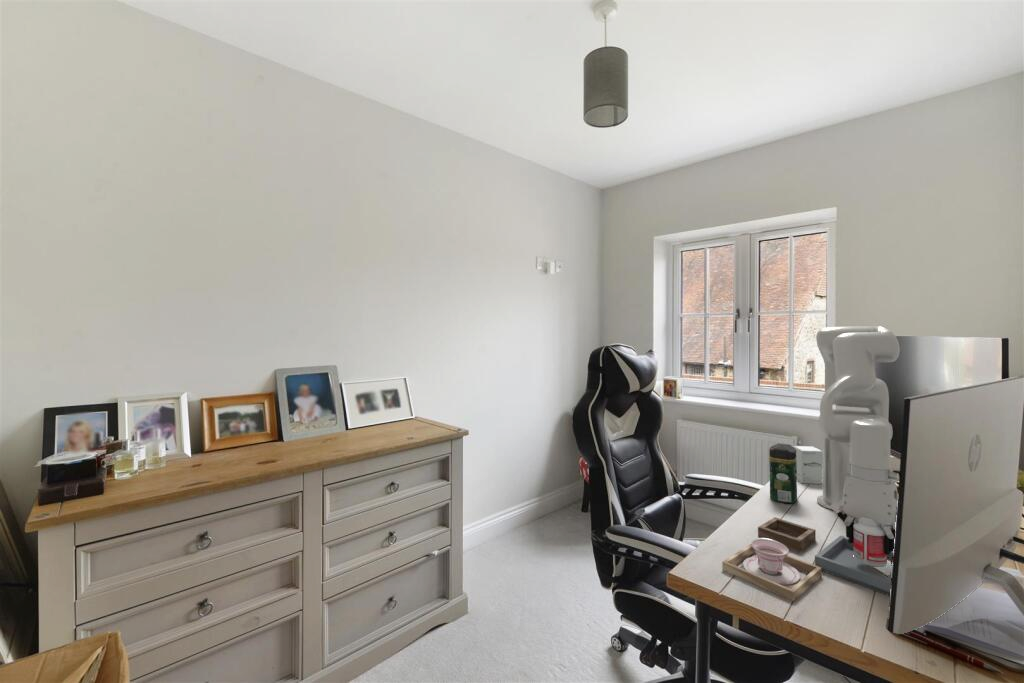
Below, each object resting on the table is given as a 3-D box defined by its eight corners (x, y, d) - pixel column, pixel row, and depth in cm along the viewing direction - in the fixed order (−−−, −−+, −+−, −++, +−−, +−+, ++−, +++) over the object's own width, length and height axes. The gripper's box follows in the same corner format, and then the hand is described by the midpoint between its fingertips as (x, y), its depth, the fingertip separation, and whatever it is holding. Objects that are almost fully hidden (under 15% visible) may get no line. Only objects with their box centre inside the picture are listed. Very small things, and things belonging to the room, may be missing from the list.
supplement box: (801, 483, 162) (801, 450, 162) (792, 477, 170) (792, 445, 169) (823, 484, 161) (823, 450, 161) (813, 478, 168) (812, 445, 168)
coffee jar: (771, 492, 155) (771, 440, 154) (798, 497, 150) (797, 443, 149) (767, 500, 147) (767, 446, 147) (795, 506, 142) (794, 450, 142)
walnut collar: (774, 527, 128) (774, 517, 128) (815, 540, 119) (815, 529, 119) (758, 537, 122) (757, 527, 121) (799, 552, 113) (799, 541, 113)
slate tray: (840, 546, 116) (840, 535, 116) (927, 574, 102) (927, 562, 102) (815, 568, 106) (814, 555, 106) (907, 602, 92) (907, 588, 92)
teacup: (734, 558, 111) (734, 534, 111) (782, 558, 111) (782, 534, 110) (757, 585, 99) (757, 558, 99) (812, 586, 99) (811, 559, 98)
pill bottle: (890, 563, 103) (890, 517, 103) (881, 571, 100) (881, 524, 99) (859, 552, 108) (859, 508, 108) (849, 559, 105) (849, 514, 104)
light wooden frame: (753, 549, 115) (753, 542, 115) (821, 576, 102) (821, 567, 102) (722, 569, 106) (722, 561, 106) (793, 601, 93) (793, 592, 93)
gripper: (922, 478, 99) (922, 556, 99) (832, 461, 113) (832, 529, 113) (913, 486, 94) (913, 567, 95) (821, 467, 108) (821, 538, 109)
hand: (869, 546), depth 104 cm, fingers closed on pill bottle, 6 cm apart
